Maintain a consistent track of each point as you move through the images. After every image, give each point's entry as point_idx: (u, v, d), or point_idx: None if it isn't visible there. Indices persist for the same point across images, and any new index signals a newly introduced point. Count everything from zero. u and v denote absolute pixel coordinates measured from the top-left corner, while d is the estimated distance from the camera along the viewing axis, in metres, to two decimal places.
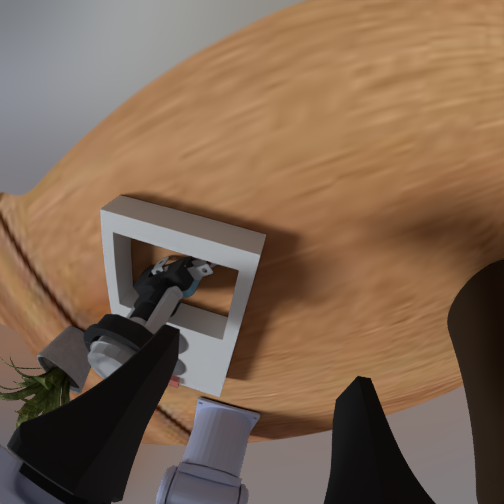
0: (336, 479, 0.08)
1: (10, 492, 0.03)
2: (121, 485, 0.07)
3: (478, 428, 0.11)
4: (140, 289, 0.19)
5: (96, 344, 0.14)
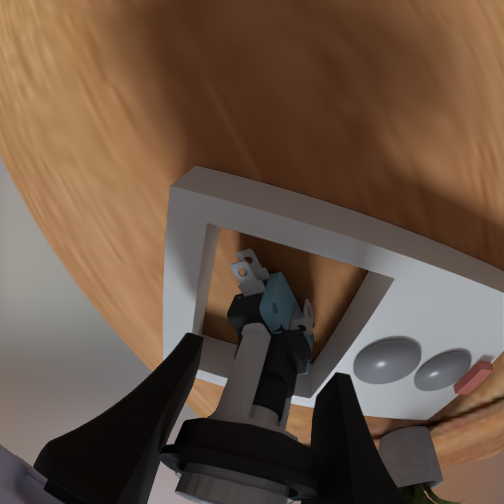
0: None
1: (10, 492, 0.03)
2: (146, 495, 0.07)
3: None
4: None
5: None
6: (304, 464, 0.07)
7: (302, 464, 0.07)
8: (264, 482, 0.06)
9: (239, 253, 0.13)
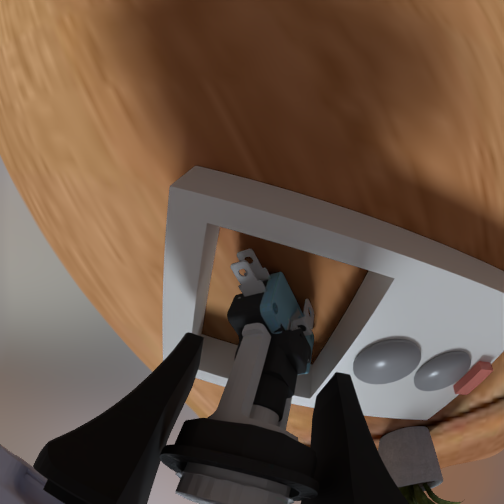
0: None
1: (10, 492, 0.03)
2: (146, 495, 0.07)
3: None
4: None
5: None
6: (305, 464, 0.07)
7: (303, 464, 0.07)
8: (265, 482, 0.06)
9: (239, 253, 0.13)
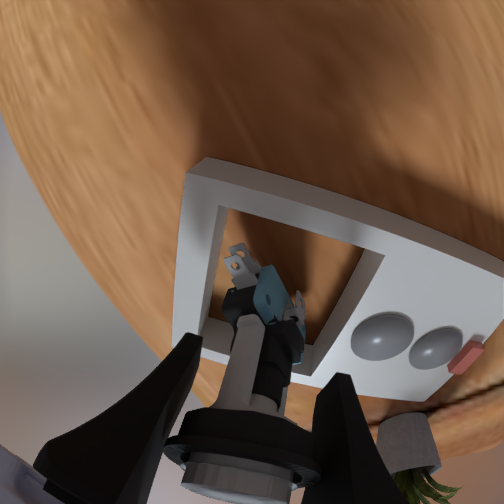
0: None
1: (10, 492, 0.03)
2: (145, 495, 0.07)
3: None
4: None
5: None
6: (306, 448, 0.07)
7: (304, 448, 0.07)
8: (269, 468, 0.07)
9: (231, 247, 0.13)
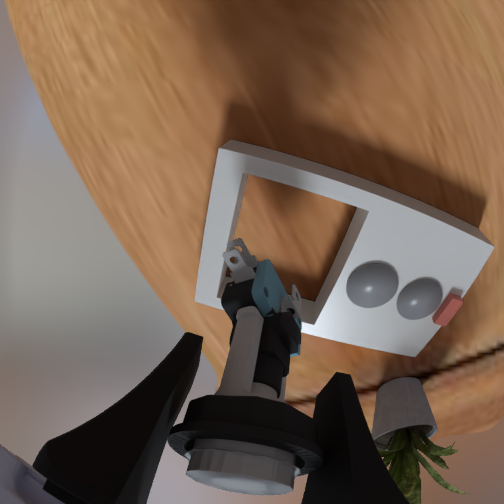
0: (314, 477, 0.08)
1: (10, 492, 0.03)
2: (145, 495, 0.07)
3: None
4: None
5: None
6: (308, 432, 0.08)
7: (306, 432, 0.08)
8: (273, 452, 0.07)
9: (229, 243, 0.14)
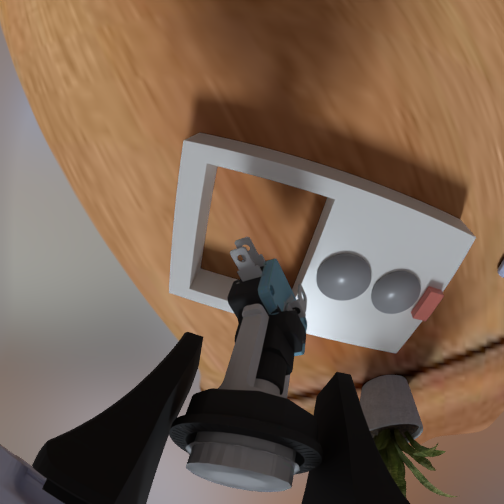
0: (314, 477, 0.08)
1: (10, 492, 0.03)
2: (145, 495, 0.07)
3: None
4: None
5: None
6: (308, 429, 0.08)
7: (306, 429, 0.08)
8: (272, 447, 0.07)
9: (237, 241, 0.14)
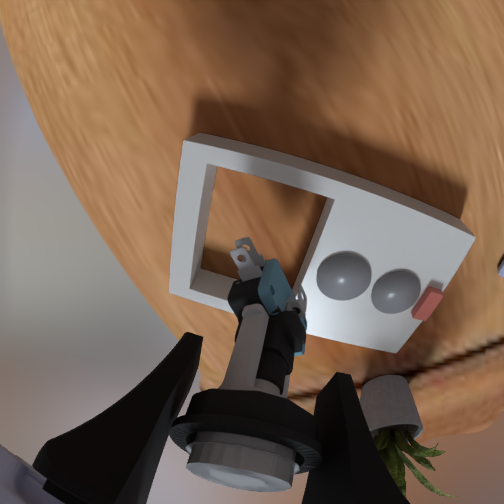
0: (314, 477, 0.08)
1: (10, 492, 0.03)
2: (145, 495, 0.07)
3: None
4: None
5: None
6: (308, 429, 0.08)
7: (306, 429, 0.08)
8: (272, 447, 0.07)
9: (237, 241, 0.14)
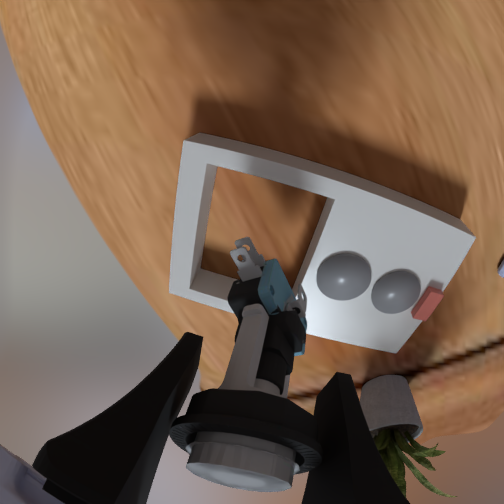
0: (314, 477, 0.08)
1: (10, 492, 0.03)
2: (145, 495, 0.07)
3: None
4: None
5: None
6: (308, 429, 0.08)
7: (306, 429, 0.08)
8: (272, 447, 0.07)
9: (237, 241, 0.14)
